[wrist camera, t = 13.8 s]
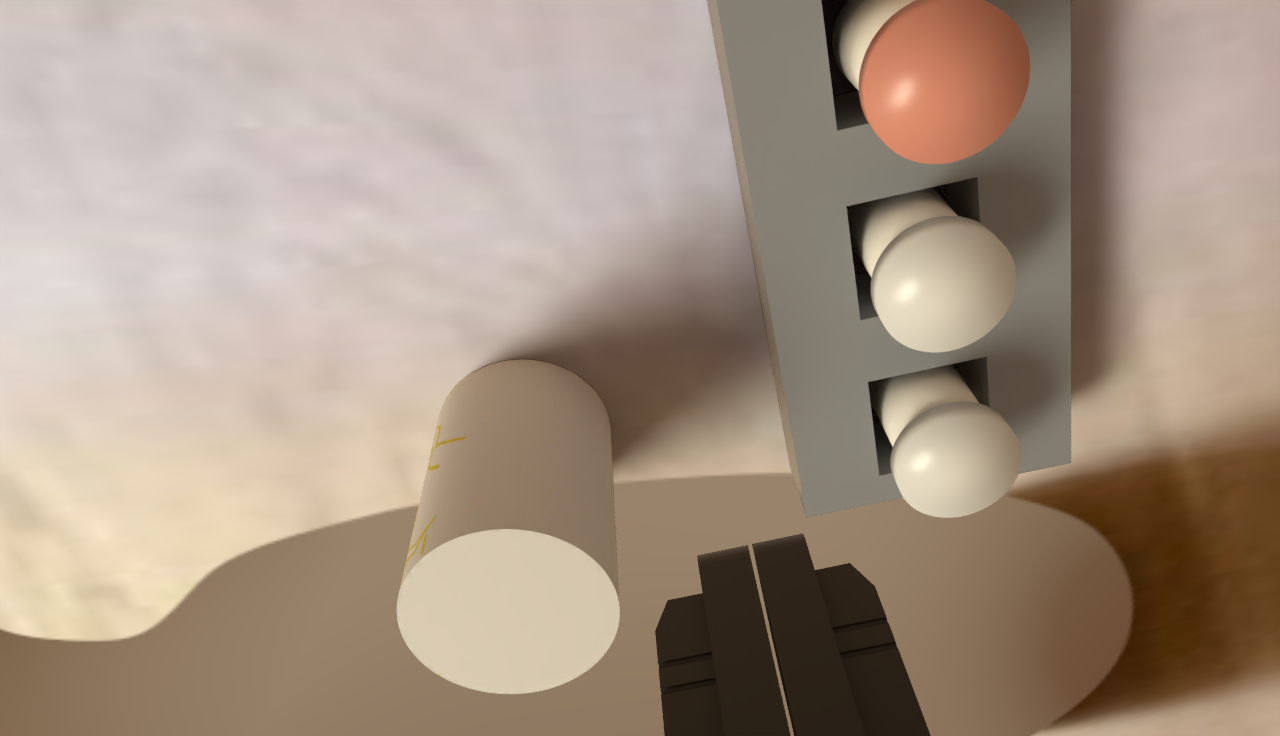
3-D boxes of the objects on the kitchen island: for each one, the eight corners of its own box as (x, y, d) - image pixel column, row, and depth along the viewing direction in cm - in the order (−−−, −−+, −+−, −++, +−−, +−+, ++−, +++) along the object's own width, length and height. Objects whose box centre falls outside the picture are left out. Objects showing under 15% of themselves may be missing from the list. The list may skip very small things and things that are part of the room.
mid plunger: (949, 149, 40) (1014, 212, 34) (956, 259, 43) (1018, 336, 37) (827, 177, 41) (870, 244, 35) (841, 284, 43) (884, 365, 37)
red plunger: (950, -53, 35) (1028, -20, 29) (958, 87, 37) (1032, 144, 31) (810, -19, 35) (857, 20, 29) (827, 117, 38) (874, 180, 32)
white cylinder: (423, 367, 45) (376, 539, 35) (603, 352, 45) (610, 519, 35) (452, 510, 49) (418, 702, 39) (617, 495, 49) (627, 683, 39)
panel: (1023, -128, 36) (1071, -120, 33) (1035, 414, 48) (1071, 462, 44) (698, -49, 37) (710, -32, 33) (790, 466, 49) (806, 517, 45)
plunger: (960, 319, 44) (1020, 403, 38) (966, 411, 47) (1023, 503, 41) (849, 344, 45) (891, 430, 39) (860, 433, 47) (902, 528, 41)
